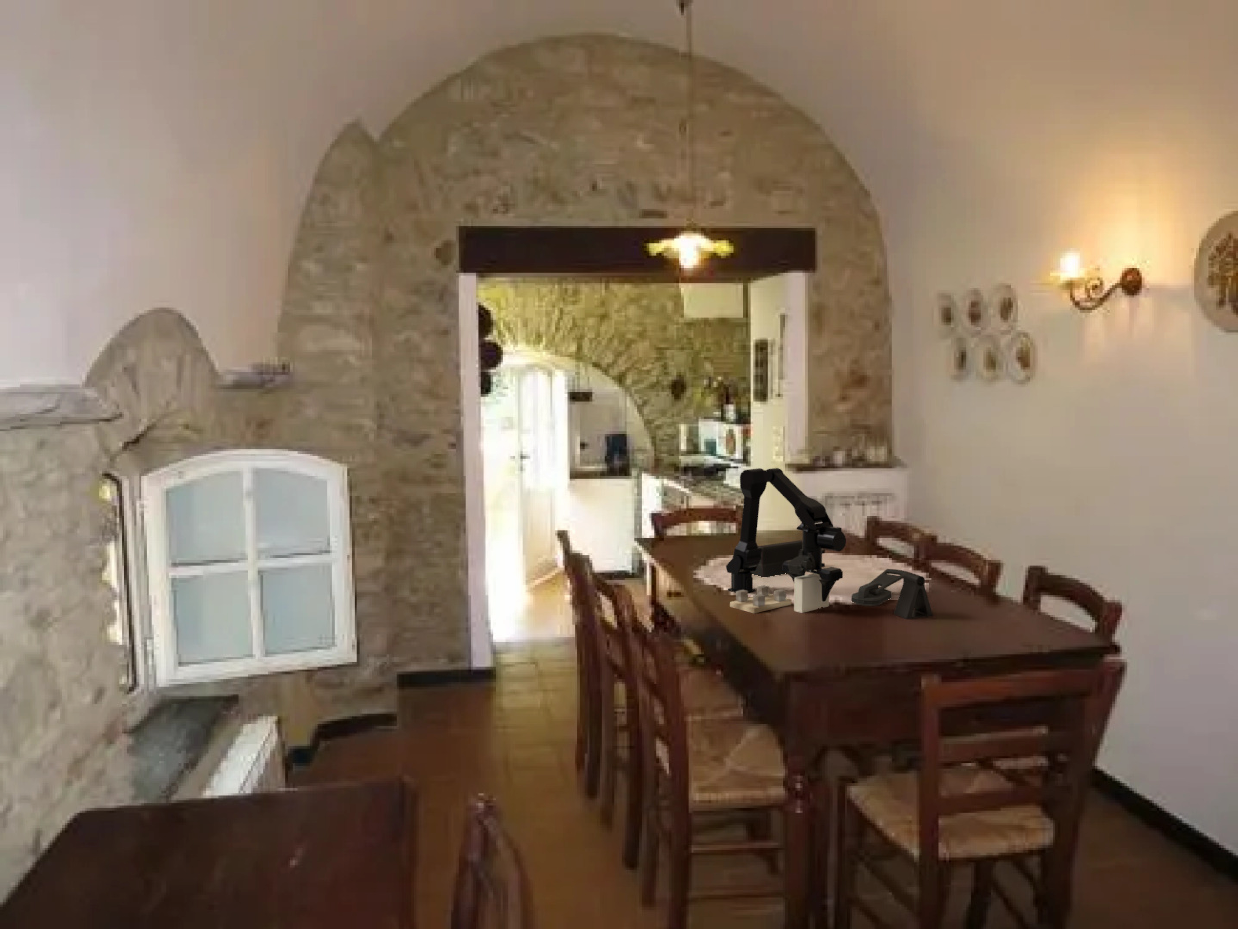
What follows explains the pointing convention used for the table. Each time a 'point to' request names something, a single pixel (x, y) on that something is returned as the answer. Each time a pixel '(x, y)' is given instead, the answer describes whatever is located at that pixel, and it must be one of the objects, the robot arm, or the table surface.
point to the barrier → (776, 557)
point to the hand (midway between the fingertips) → (811, 598)
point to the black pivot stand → (913, 598)
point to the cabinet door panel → (808, 593)
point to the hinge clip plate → (762, 608)
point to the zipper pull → (877, 588)
